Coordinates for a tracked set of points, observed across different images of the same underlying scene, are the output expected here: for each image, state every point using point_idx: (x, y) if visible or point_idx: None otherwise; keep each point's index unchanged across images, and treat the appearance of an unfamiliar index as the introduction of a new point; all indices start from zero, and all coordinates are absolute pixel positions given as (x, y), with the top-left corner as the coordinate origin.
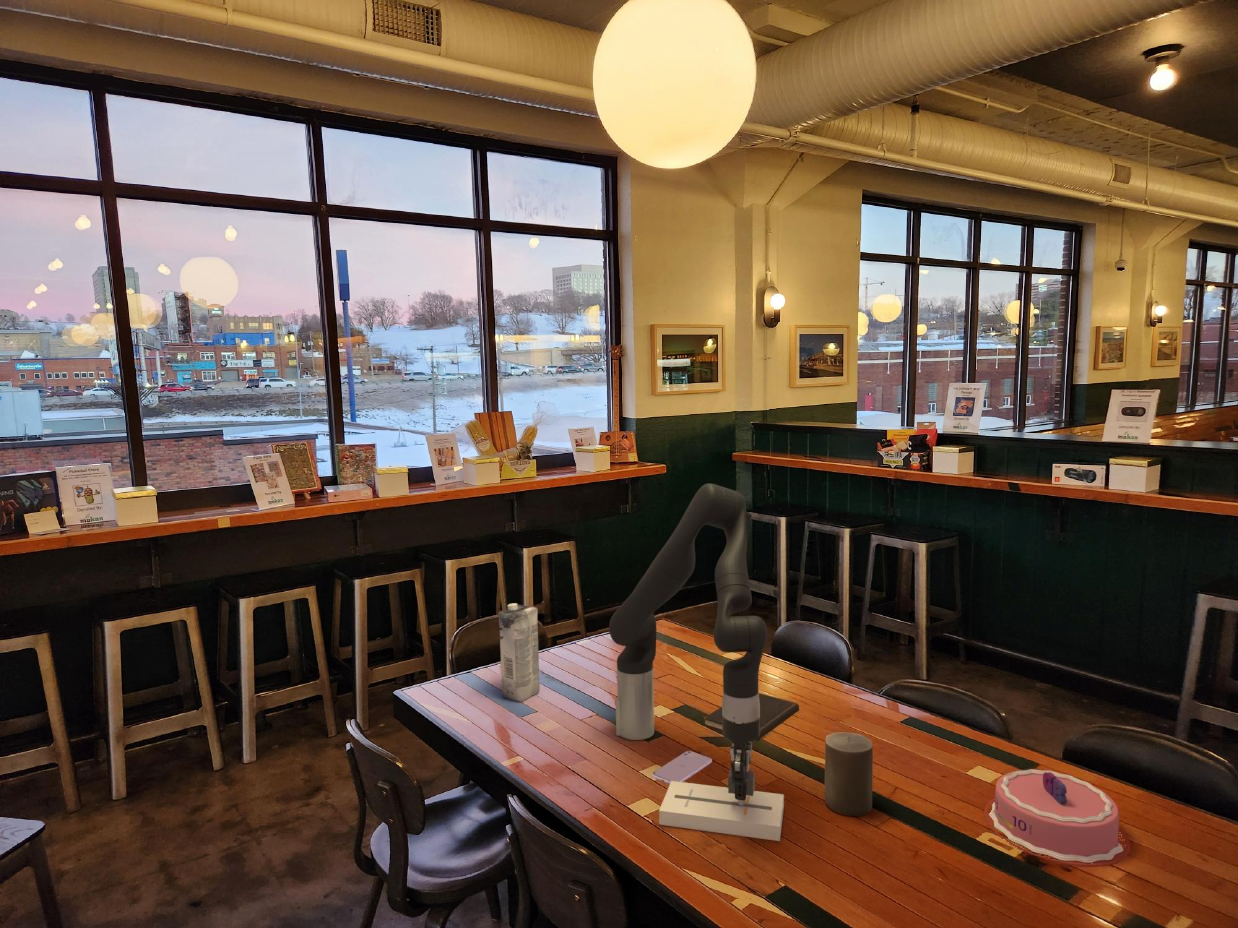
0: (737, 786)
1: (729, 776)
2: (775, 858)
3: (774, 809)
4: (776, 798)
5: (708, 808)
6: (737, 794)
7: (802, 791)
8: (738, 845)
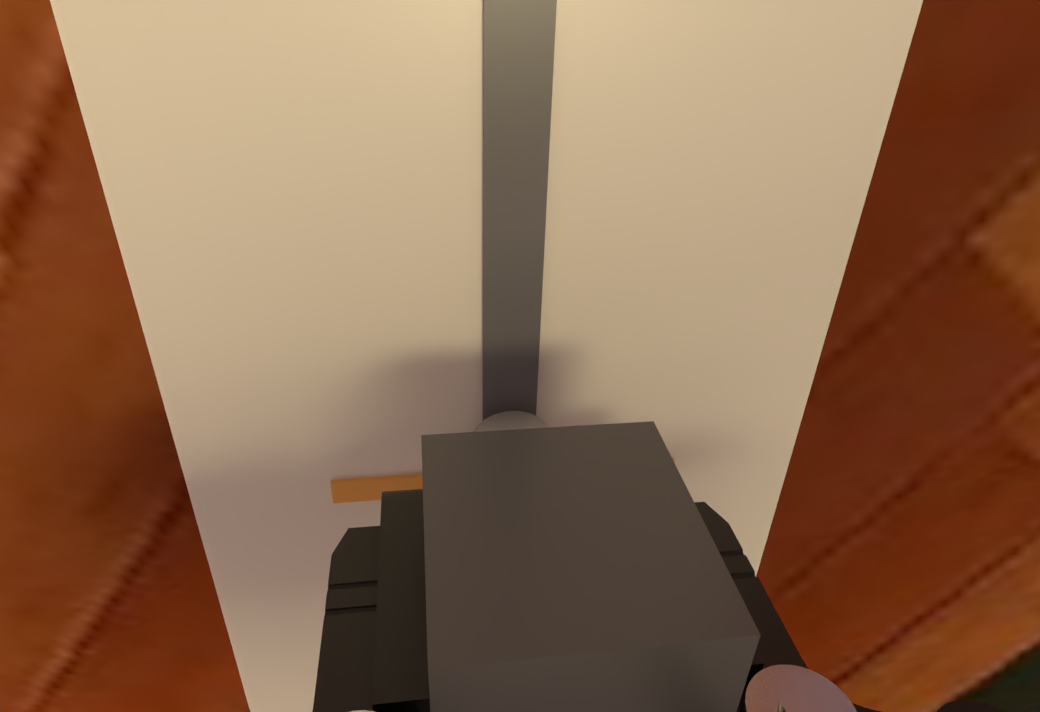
0: (316, 701)
1: (432, 686)
2: (45, 625)
3: None
4: None
5: (310, 83)
6: (331, 586)
7: (890, 628)
8: (60, 392)
